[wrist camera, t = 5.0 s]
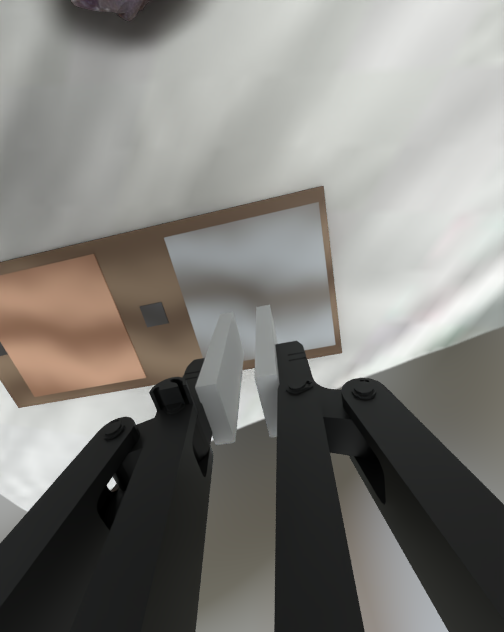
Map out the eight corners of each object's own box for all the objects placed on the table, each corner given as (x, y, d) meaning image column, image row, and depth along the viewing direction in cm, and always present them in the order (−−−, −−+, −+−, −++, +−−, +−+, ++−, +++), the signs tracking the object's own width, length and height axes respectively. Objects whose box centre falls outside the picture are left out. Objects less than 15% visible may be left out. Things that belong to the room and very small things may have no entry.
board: (-60, 276, 24) (-69, 278, 23) (321, 186, 20) (323, 185, 20) (23, 404, 29) (17, 408, 28) (340, 349, 25) (342, 353, 25)
